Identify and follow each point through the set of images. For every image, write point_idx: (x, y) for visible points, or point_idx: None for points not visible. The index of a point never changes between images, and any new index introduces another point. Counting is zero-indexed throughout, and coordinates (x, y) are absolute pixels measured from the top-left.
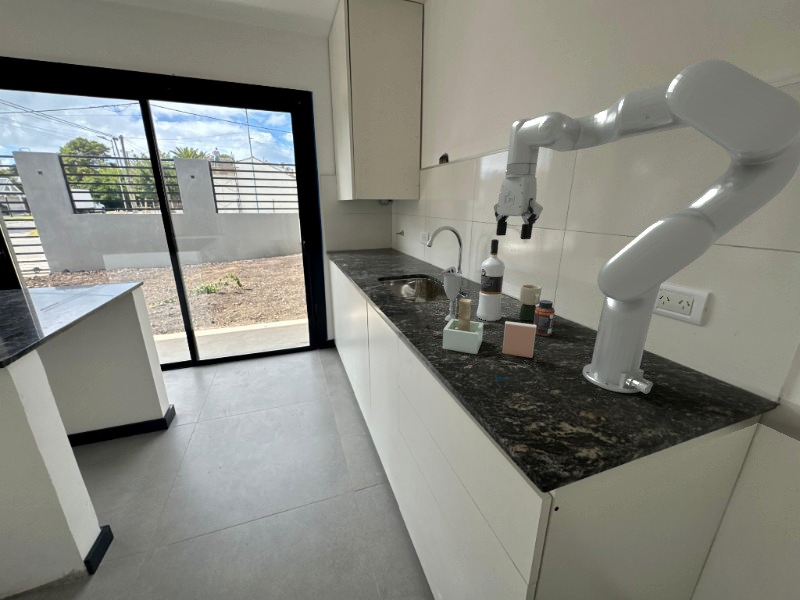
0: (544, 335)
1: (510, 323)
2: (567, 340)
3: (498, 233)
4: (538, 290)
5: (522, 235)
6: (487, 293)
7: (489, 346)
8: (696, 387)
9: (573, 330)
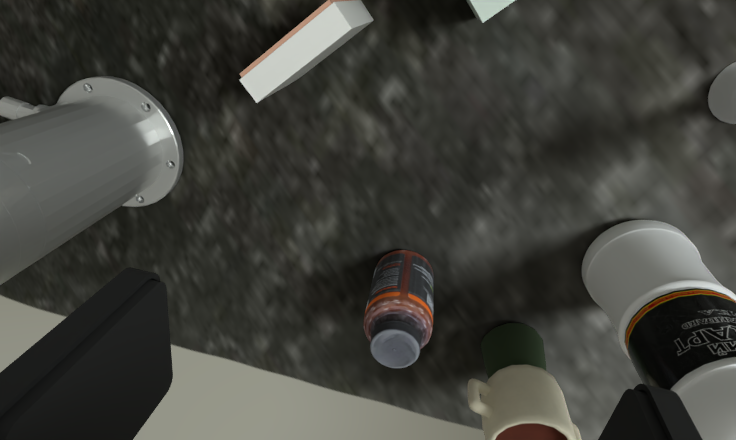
0: (382, 257)
1: (319, 21)
2: (327, 280)
3: (636, 408)
4: (487, 434)
5: (100, 292)
6: (674, 292)
7: (441, 25)
8: None
9: (363, 358)
